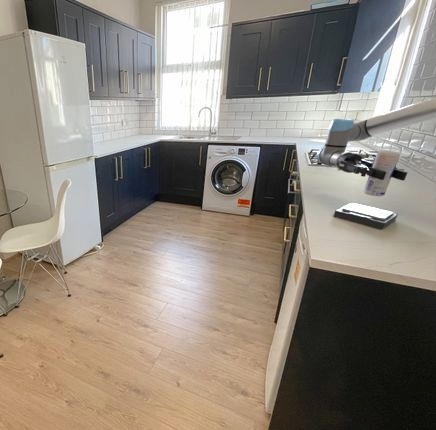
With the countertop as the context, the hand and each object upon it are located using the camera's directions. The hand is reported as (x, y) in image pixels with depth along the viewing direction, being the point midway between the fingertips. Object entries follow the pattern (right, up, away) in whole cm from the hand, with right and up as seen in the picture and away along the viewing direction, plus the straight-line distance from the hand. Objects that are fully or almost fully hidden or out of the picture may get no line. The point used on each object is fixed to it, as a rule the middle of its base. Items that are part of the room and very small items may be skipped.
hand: (394, 176), depth 90 cm
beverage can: (+1, -6, +8) cm, 10 cm away
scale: (0, -14, +11) cm, 18 cm away
